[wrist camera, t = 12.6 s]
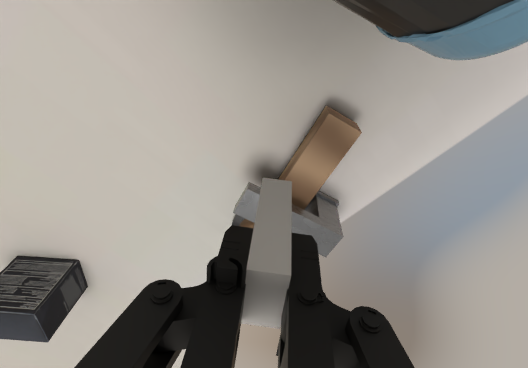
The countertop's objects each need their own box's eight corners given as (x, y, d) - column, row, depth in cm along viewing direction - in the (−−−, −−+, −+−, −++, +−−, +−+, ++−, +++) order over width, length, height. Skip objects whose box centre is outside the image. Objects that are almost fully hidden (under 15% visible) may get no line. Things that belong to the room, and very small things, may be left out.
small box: (29, 284, 55) (-24, 339, 45) (16, 254, 51) (-44, 308, 42) (89, 288, 54) (48, 345, 45) (79, 259, 51) (32, 314, 42)
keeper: (241, 182, 42) (232, 214, 35) (255, 157, 40) (248, 187, 33) (321, 222, 44) (326, 259, 37) (338, 200, 42) (346, 236, 36)
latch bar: (268, 256, 46) (266, 282, 41) (230, 238, 45) (224, 263, 40) (364, 127, 36) (374, 144, 31) (318, 101, 35) (322, 114, 30)
